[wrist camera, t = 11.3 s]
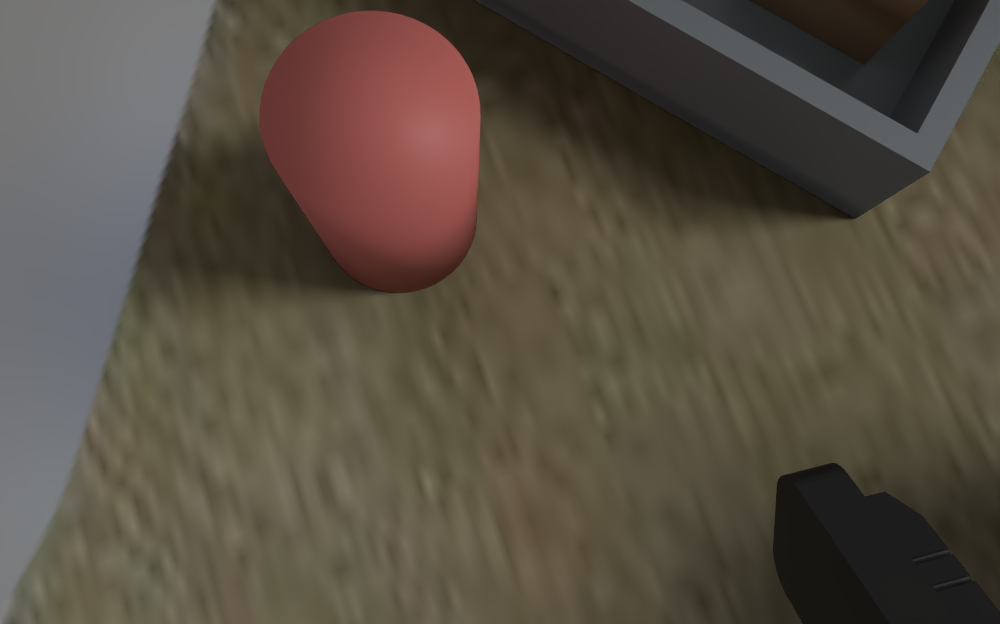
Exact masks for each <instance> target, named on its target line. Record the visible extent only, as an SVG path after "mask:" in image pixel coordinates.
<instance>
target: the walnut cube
mask: <svg viewBox="0 0 1000 624" xmlns="http://www.w3.org/2000/svg"><path fill="white" fill-rule="evenodd" d="M749 1H751V2H753V3H755V4H757V5H758V6H760V7H762V8H764V9H765V10H767V11H769V12H771V13H773V14H774V15H776V16H778V17H780V18H782V19H783V20H785V21H787V22H789V23H790V24H792V25H794V26H796V27H798V28H799V29H801V30H803V31H805V32H807V33H808V34H810V35H812V36H814V37H815V38H817V39H819V40H821V41H823V42H824V43H826V44H828V45H830V46H832V47H833V48H835V49H837V50H839V51H840V52H842V53H844V54H846V55H848V56H849V57H851V58H853V59H855V60H856V61H858V62H860V63H862V64H864V65H865V64H866V63H867V62H868V61H869V60H870V59H871V58H872V57H873V56H874V55H875V54H876V53H877V52H878V51H879V50H880V49H881V48H882V47H883V46H884V45H885V44H886V43H887V42H888V41H889V40H890V39H891V38H892V37H893V36H894V35H895V34H896V33H897V32H898V31H899V30H900V29H901V28H902V27H903V26H904V25H905V24H906V23H907V22H908V21H909V20H910V19H911V18H912V17H913V16H914V15H915V14H916V13H917V12H918V11H919V10H920V9H921V8H922V7H923V6H924V5H925V4H926V3H927V2H928V1H929V0H749Z"/></svg>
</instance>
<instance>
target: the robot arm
mask: <svg viewBox="0 0 1000 624" xmlns="http://www.w3.org/2000/svg"><path fill="white" fill-rule="evenodd" d="M773 554H774V561H775V566H776V570H777V573H778V576H779V579H780V582H781V584H782V587H783V589H784V591H785V593H786V595H787V597H788V599H789V600H790V602H791V604H792V606H793V607H794V609H795V611H796V612H797V614H798V616H799V618H800V619H801V621H802V623H803V624H1000V612H999V610H998V609H997V608H996V607H995V605H994V604H993V603H992V602H991V601H990V599H989V598H988V597H987V596H986V594H985V593H984V592H983V591H982V589H981V588H980V587H979V586H978V584H977V583H976V582H975V581H973V582H972V581H971V579H970V577H969V573H968V572H967V571H966V570H965V568H964V567H963V566H962V565H961V563H960V562H959V561H958V560H957V558H956V557H955V556H954V555H950V553H949V551H948V547H947V546H946V545H945V544H944V542H943V541H942V540H941V539H940V537H939V536H938V535H937V534H936V532H935V531H934V530H933V529H932V528H931V526H930V525H929V524H928V523H927V521H926V520H925V519H924V518H923V516H922V515H920V514H918V513H917V512H915V511H914V510H912V509H911V508H909V507H908V506H906V505H905V504H903V503H902V502H900V501H899V500H897V499H896V498H894V497H892V496H891V495H889V494H888V493H886V492H882V493H878V494H874V495H870V496H866V497H865V496H864V495H863V494H862V492H861V491H860V490H859V488H858V487H857V486H856V484H855V483H854V482H853V480H852V479H851V478H850V476H849V475H848V474H847V473H846V471H845V470H844V469H843V468H842V467H841V466H839V465H838V464H835V463H830V464H826V465H822V466H818V467H814V468H810V469H807V470H803V471H799V472H795V473H791V474H787V475H783V476H781V477H780V478H779V479H778V483H777V494H776V510H775V527H774V543H773Z"/></svg>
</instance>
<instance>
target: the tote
mask: <svg viewBox="0 0 1000 624" xmlns="http://www.w3.org/2000/svg"><path fill="white" fill-rule="evenodd" d="M475 1H476V2H478V3H480V4H482V5H483V6H485V7H487V8H489V9H490V10H492V11H494V12H496V13H497V14H499V15H501V16H503V17H504V18H506V19H508V20H510V21H511V22H513V23H515V24H516V25H518V26H520V27H522V28H523V29H525V30H527V31H529V32H530V33H532V34H534V35H536V36H537V37H539V38H541V39H543V40H544V41H546V42H548V43H550V44H551V45H553V46H555V47H557V48H558V49H560V50H562V51H563V52H565V53H567V54H569V55H570V56H572V57H574V58H576V59H577V60H579V61H581V62H583V63H584V64H586V65H588V66H590V67H591V68H593V69H595V70H597V71H598V72H600V73H602V74H604V75H605V76H607V77H609V78H610V79H612V80H614V81H616V82H617V83H619V84H621V85H623V86H624V87H626V88H628V89H630V90H631V91H633V92H635V93H637V94H638V95H640V96H642V97H644V98H645V99H647V100H649V101H651V102H652V103H654V104H656V105H657V106H659V107H661V108H663V109H664V110H666V111H668V112H670V113H671V114H673V115H675V116H677V117H678V118H680V119H682V120H684V121H685V122H687V123H689V124H691V125H692V126H694V127H696V128H698V129H699V130H701V131H703V132H704V133H706V134H708V135H710V136H711V137H713V138H715V139H717V140H718V141H720V142H722V143H724V144H725V145H727V146H729V147H731V148H732V149H734V150H736V151H738V152H739V153H741V154H743V155H745V156H746V157H748V158H750V159H751V160H753V161H755V162H757V163H758V164H760V165H762V166H764V167H765V168H767V169H769V170H771V171H772V172H774V173H776V174H778V175H779V176H781V177H783V178H785V179H786V180H788V181H790V182H792V183H793V184H795V185H797V186H798V187H800V188H802V189H804V190H805V191H807V192H809V193H811V194H812V195H814V196H816V197H818V198H819V199H821V200H823V201H825V202H826V203H828V204H830V205H832V206H833V207H835V208H837V209H839V210H840V211H842V212H844V213H845V214H847V215H849V216H851V217H852V218H854V219H856V218H857V217H859V216H860V215H862V214H864V213H865V212H867V211H868V210H870V209H872V208H873V207H875V206H876V205H878V204H880V203H881V202H883V201H884V200H886V199H888V198H889V197H891V196H892V195H894V194H896V193H897V192H899V191H900V190H902V189H904V188H905V187H907V186H908V185H910V184H912V183H913V182H915V181H916V180H918V179H920V178H921V177H923V176H924V175H926V174H928V173H929V172H930V171H931V169H932V168H933V166H934V164H935V162H936V160H937V158H938V156H939V154H940V153H941V151H942V149H943V147H944V145H945V143H946V141H947V139H948V138H949V136H950V134H951V132H952V130H953V128H954V126H955V125H956V123H957V121H958V119H959V117H960V115H961V113H962V111H963V110H964V108H965V106H966V104H967V102H968V100H969V98H970V96H971V95H972V93H973V91H974V89H975V87H976V85H977V83H978V82H979V80H980V78H981V76H982V74H983V72H984V70H985V68H986V67H987V65H988V63H989V61H990V59H991V57H992V55H993V53H994V52H995V50H996V48H997V46H998V44H999V42H1000V0H929V1H928V2H927V3H926V4H925V5H924V6H923V7H922V8H921V9H920V10H919V11H918V12H917V13H916V14H915V15H914V16H913V17H912V18H911V19H910V20H909V21H908V22H907V23H906V24H905V25H904V26H903V27H902V28H901V29H900V30H899V31H898V32H897V33H896V34H895V35H894V36H893V37H892V38H891V39H890V40H889V41H888V42H887V43H886V44H885V45H884V46H883V47H882V48H881V49H880V50H879V51H878V52H877V53H876V54H875V55H874V56H873V57H872V58H871V59H870V60H869V61H868V62H867V63H866V64H865V65H864V64H862V63H860V62H858V61H856V60H855V59H853V58H851V57H849V56H848V55H846V54H844V53H842V52H840V51H839V50H837V49H835V48H833V47H832V46H830V45H828V44H826V43H824V42H823V41H821V40H819V39H817V38H815V37H814V36H812V35H810V34H808V33H807V32H805V31H803V30H801V29H799V28H798V27H796V26H794V25H792V24H790V23H789V22H787V21H785V20H783V19H782V18H780V17H778V16H776V15H774V14H773V13H771V12H769V11H767V10H765V9H764V8H762V7H760V6H758V5H757V4H755V3H753V2H751V1H749V0H475Z"/></svg>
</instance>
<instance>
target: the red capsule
mask: <svg viewBox="0 0 1000 624" xmlns="http://www.w3.org/2000/svg"><path fill="white" fill-rule="evenodd" d="M480 118H481V114H480V100H479V95H478V90H477V87H476V84H475V81H474V78H473V75H472V73H471V71H470V69H469V67H468V65H467V63H466V62H465V60H464V59H463V57H462V56H461V54H460V53H459V52H458V51H457V50H456V48H455V47H454V46H453V45H452V44H451V43H450V42H449V41H448V40H447V39H446V38H444V37H443V36H442V35H441V34H440V33H438V32H437V31H435V30H434V29H432V28H431V27H429V26H428V25H426V24H424V23H422V22H420V21H418V20H416V19H413V18H410V17H407V16H404V15H401V14H396V13H392V12H385V11H357V12H351V13H345V14H342V15H338V16H335V17H332V18H329V19H327V20H324V21H322V22H320V23H318V24H316V25H314V26H313V27H311V28H309V29H308V30H306V31H305V32H304V33H302V34H301V35H300V36H298V37H297V38H296V39H295V40H294V41H293V42H292V43H291V44H290V45H289V46H288V47H287V48H286V49H285V50H284V51H283V53H282V54H281V55H280V56H279V58H278V59H277V61H276V62H275V64H274V66H273V67H272V69H271V71H270V73H269V76H268V78H267V80H266V83H265V86H264V90H263V93H262V97H261V105H260V128H261V135H262V140H263V143H264V146H265V150H266V152H267V155H268V157H269V159H270V161H271V163H272V165H273V167H274V168H275V170H276V171H277V173H278V175H279V176H280V178H281V179H282V181H283V182H284V184H285V185H286V187H287V188H288V190H289V191H290V193H291V194H292V196H293V197H294V199H295V200H296V202H297V203H298V205H299V206H300V208H301V209H302V211H303V212H304V214H305V216H306V217H307V219H308V220H309V222H310V223H311V225H312V226H313V228H314V229H315V231H316V232H317V234H318V235H319V237H320V238H321V240H322V241H323V243H324V244H325V246H326V247H327V249H328V250H329V252H330V253H331V255H332V256H333V258H334V259H335V261H336V262H337V263H338V265H339V266H340V267H341V268H342V269H343V270H344V271H345V272H346V273H347V274H348V275H349V276H351V277H352V278H353V279H355V280H356V281H358V282H360V283H362V284H363V285H365V286H367V287H370V288H373V289H376V290H380V291H385V292H393V293H405V292H412V291H418V290H421V289H424V288H427V287H430V286H432V285H434V284H436V283H438V282H439V281H441V280H443V279H444V278H446V277H447V276H448V275H449V274H451V273H452V272H453V271H454V270H455V269H456V268H457V267H458V266H459V265H460V263H461V262H462V260H463V259H464V258H465V256H466V254H467V253H468V251H469V249H470V247H471V244H472V241H473V239H474V235H475V230H476V221H477V198H478V171H479V145H480Z"/></svg>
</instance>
